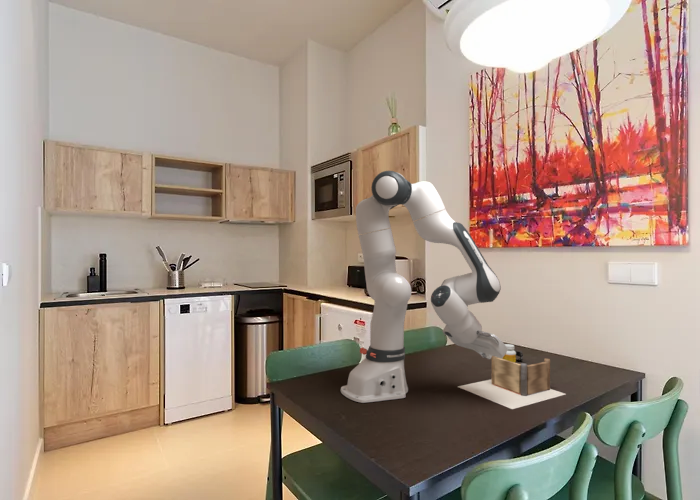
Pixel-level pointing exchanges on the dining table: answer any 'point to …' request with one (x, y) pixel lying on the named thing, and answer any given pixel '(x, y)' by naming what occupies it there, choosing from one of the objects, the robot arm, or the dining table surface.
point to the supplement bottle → (510, 353)
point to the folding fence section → (506, 374)
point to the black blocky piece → (520, 354)
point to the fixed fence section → (535, 377)
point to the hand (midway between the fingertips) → (487, 356)
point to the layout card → (508, 394)
